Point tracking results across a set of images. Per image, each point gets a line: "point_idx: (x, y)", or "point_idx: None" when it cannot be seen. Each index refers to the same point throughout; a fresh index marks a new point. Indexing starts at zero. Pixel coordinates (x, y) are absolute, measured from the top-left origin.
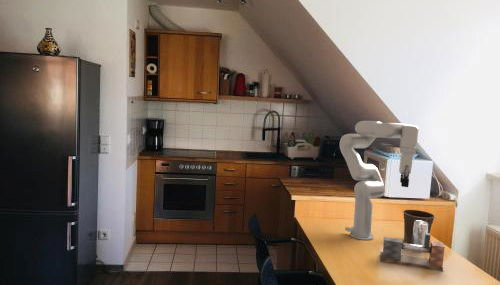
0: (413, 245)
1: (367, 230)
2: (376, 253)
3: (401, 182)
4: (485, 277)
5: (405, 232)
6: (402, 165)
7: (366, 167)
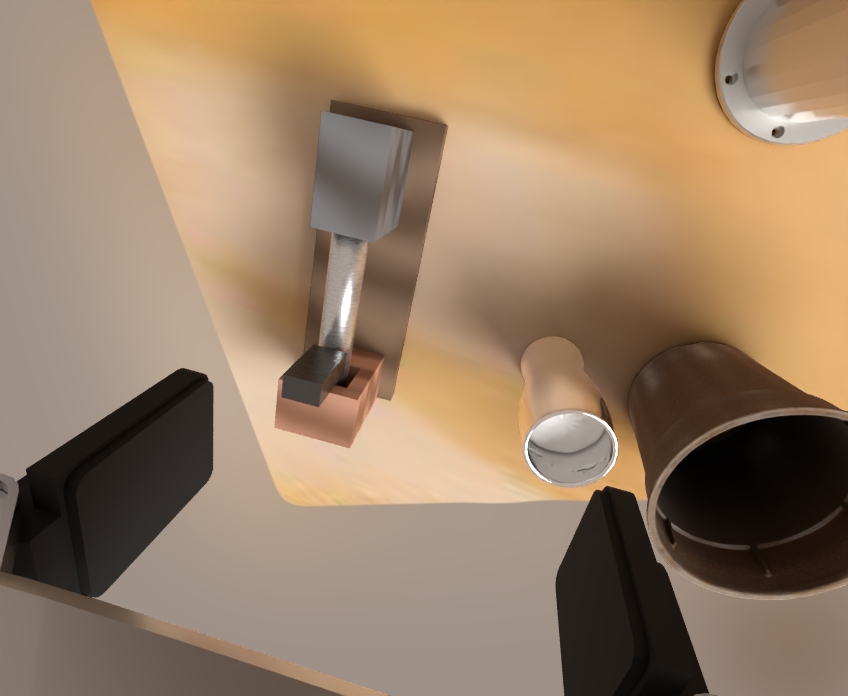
0: (329, 293)
1: (771, 77)
2: (463, 105)
3: (590, 501)
4: (300, 494)
5: (715, 359)
6: None
7: None
